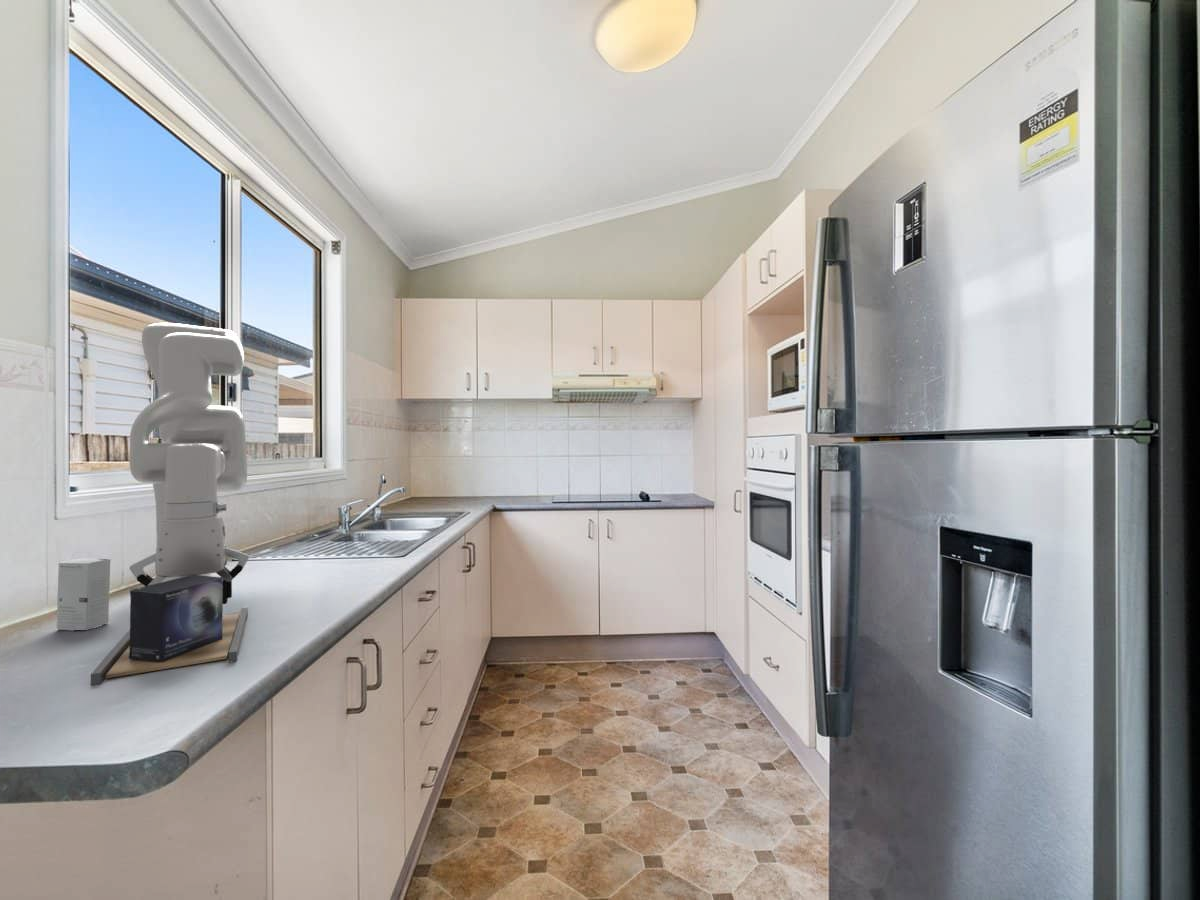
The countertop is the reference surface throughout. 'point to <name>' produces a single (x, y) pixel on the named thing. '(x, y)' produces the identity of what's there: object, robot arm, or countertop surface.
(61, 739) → the countertop surface
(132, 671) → the thin plywood board
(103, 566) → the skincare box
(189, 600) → the small box
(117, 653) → the guide rails
